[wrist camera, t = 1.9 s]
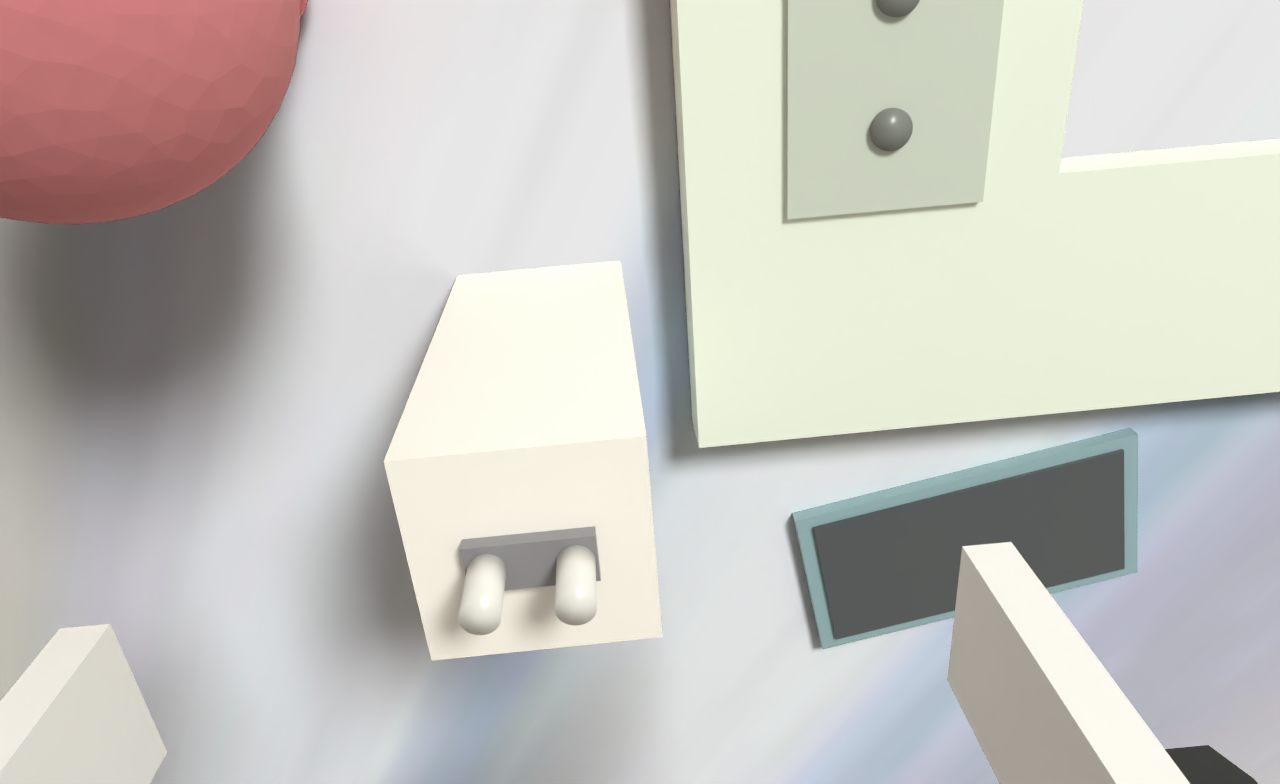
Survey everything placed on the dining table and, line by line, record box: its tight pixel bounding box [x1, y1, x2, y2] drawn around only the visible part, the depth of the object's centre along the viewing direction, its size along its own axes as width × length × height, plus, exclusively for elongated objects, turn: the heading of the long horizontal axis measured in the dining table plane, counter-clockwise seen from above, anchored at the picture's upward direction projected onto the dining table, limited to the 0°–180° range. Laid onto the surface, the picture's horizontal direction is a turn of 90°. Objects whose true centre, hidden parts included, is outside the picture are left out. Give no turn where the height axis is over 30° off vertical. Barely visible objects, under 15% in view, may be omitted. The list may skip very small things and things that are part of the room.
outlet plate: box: [670, 0, 1280, 448], centre depth 22 cm, size 22×16×2 cm
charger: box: [384, 261, 662, 661], centre depth 19 cm, size 4×4×12 cm
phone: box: [792, 428, 1138, 649], centre depth 29 cm, size 11×6×1 cm, turn 105°
